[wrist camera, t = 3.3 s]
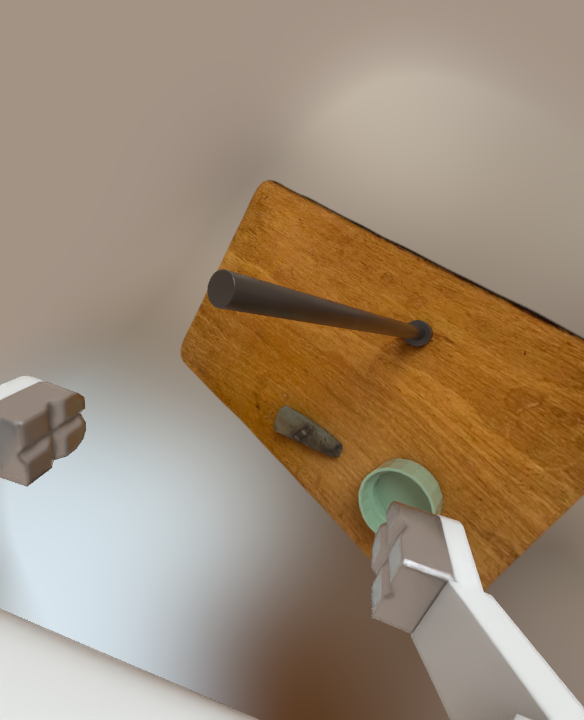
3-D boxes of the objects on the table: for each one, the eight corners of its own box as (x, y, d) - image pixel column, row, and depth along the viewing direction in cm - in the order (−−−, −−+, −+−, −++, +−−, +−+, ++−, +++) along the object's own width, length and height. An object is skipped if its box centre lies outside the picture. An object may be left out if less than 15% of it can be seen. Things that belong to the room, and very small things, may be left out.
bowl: (454, 526, 45) (447, 545, 40) (384, 530, 50) (371, 547, 46) (429, 452, 47) (419, 462, 42) (364, 463, 52) (349, 473, 47)
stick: (436, 341, 46) (258, 308, 14) (410, 350, 48) (204, 338, 16) (427, 316, 47) (238, 234, 15) (402, 326, 48) (188, 271, 17)
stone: (278, 427, 61) (270, 430, 59) (284, 402, 60) (277, 404, 58) (340, 461, 54) (334, 465, 52) (349, 433, 53) (343, 436, 51)
